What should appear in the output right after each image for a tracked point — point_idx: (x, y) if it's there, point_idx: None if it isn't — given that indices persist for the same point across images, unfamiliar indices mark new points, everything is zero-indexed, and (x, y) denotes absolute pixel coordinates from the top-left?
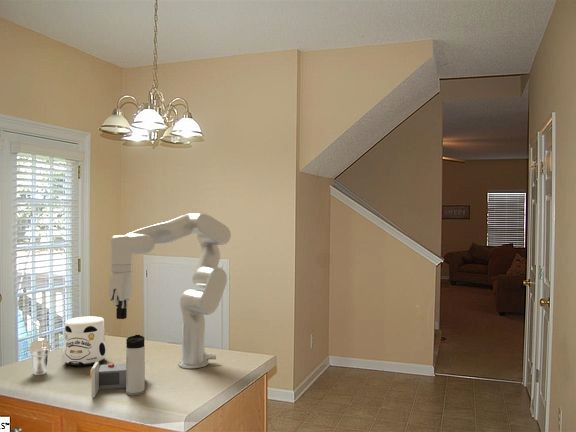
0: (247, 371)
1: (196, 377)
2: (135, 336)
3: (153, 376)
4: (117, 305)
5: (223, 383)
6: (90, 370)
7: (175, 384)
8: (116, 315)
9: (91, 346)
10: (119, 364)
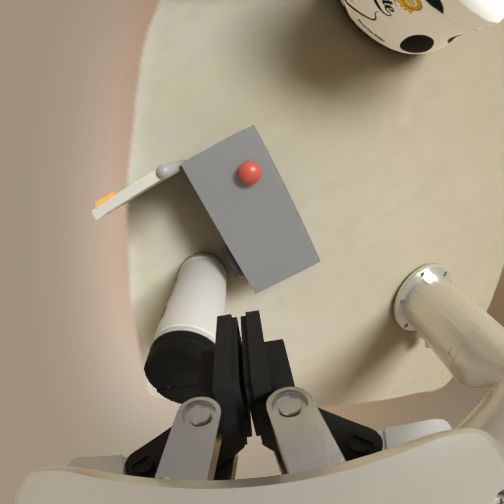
0: (377, 397)
1: (339, 346)
2: None
3: (332, 252)
4: (161, 450)
5: None
6: (96, 202)
7: (286, 330)
8: (216, 331)
9: (391, 15)
10: (278, 189)
